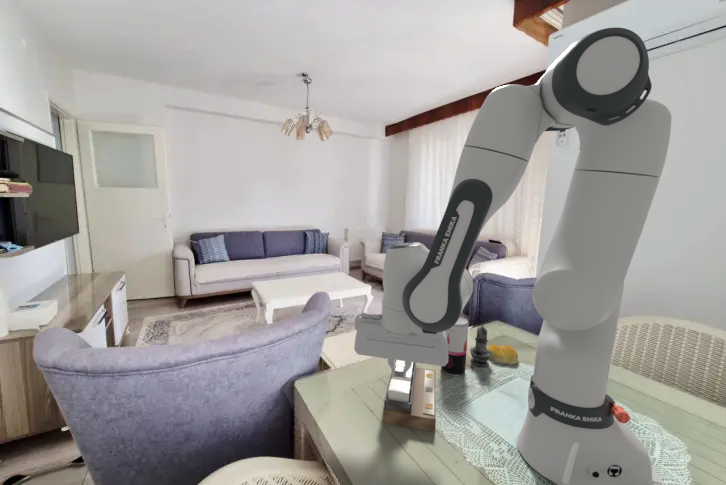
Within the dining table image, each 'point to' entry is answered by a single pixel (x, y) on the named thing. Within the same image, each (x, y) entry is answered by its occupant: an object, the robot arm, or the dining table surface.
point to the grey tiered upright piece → (480, 349)
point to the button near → (399, 390)
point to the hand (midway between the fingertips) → (399, 376)
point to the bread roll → (503, 354)
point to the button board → (414, 402)
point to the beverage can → (457, 348)
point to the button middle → (408, 375)
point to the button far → (402, 363)
